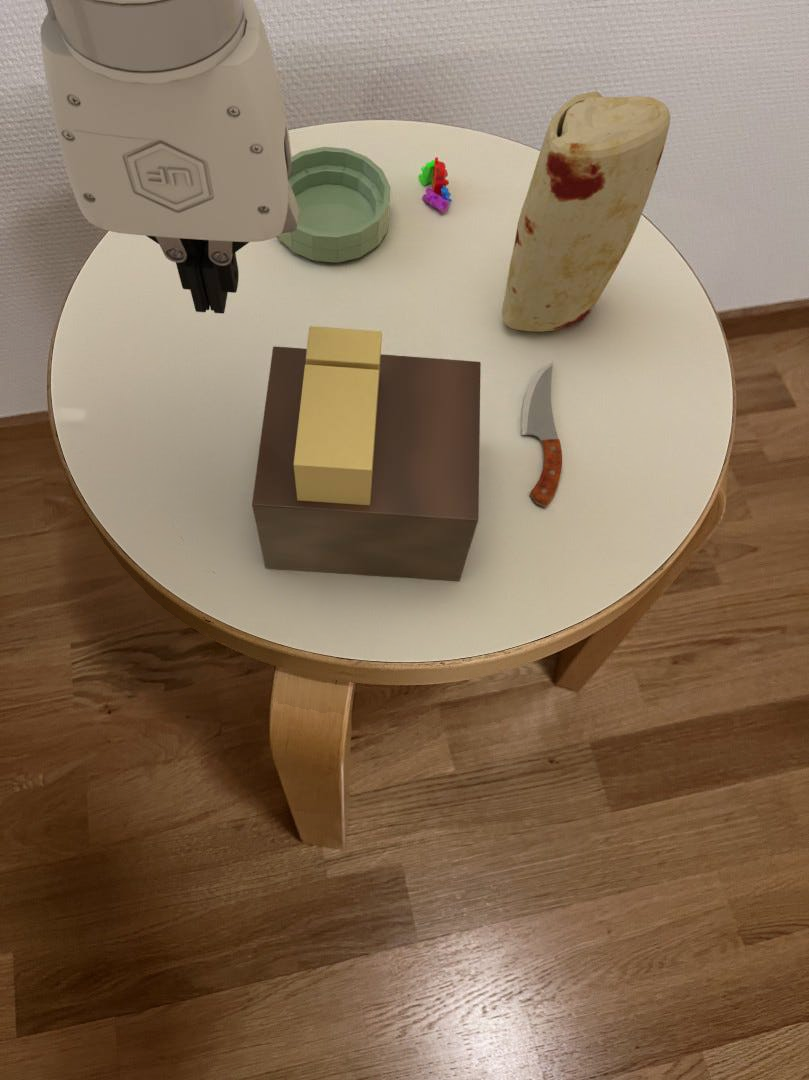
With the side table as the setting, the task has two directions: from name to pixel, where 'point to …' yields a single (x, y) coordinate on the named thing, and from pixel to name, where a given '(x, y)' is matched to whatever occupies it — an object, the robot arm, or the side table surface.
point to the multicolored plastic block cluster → (436, 185)
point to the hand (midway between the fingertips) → (213, 293)
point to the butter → (336, 435)
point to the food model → (582, 207)
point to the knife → (543, 433)
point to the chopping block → (379, 476)
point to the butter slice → (344, 348)
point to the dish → (337, 204)
